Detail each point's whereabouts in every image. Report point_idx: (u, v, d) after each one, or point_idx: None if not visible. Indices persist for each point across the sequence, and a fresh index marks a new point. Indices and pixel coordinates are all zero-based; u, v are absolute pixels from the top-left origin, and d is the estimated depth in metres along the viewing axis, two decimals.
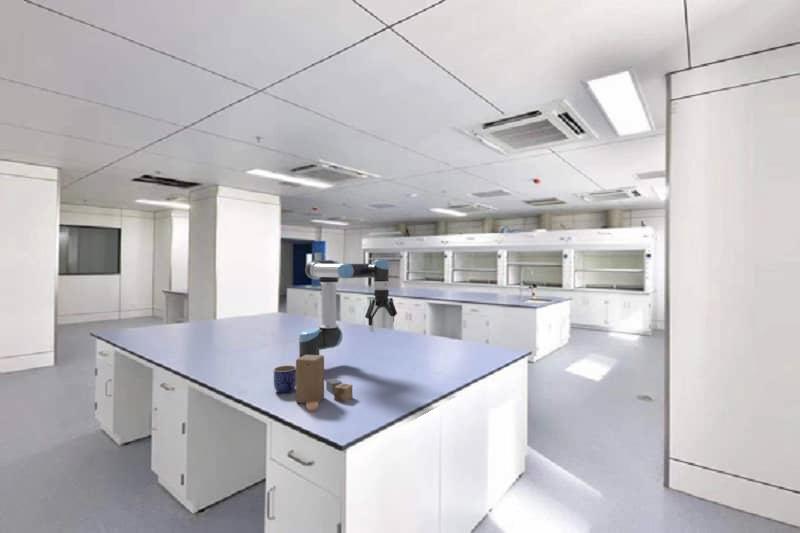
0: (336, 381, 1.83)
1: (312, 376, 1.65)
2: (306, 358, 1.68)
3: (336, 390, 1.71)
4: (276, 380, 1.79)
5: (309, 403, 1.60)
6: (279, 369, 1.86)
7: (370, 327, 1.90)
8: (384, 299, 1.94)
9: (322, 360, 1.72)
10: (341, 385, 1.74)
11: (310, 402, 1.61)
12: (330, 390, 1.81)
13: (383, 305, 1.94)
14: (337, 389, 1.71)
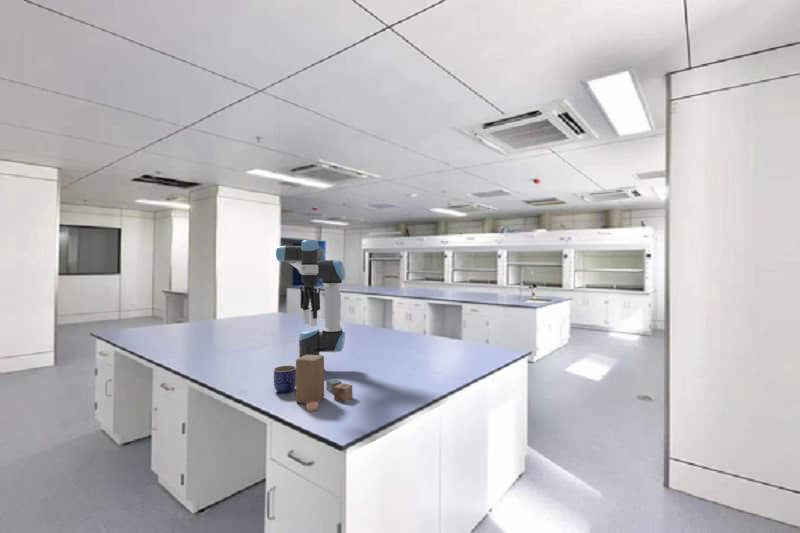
0: (336, 381, 1.83)
1: (312, 376, 1.65)
2: (306, 358, 1.68)
3: (336, 390, 1.71)
4: (276, 380, 1.79)
5: (309, 403, 1.60)
6: (279, 369, 1.86)
7: None
8: (309, 284, 1.68)
9: (322, 360, 1.72)
10: (341, 385, 1.74)
11: (310, 402, 1.61)
12: (330, 390, 1.81)
13: None
14: (337, 389, 1.71)
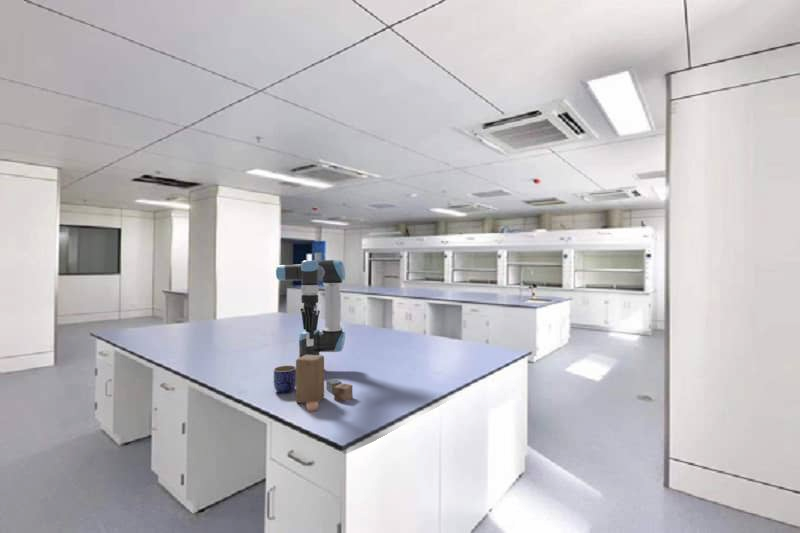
0: (336, 381, 1.83)
1: (312, 376, 1.65)
2: (306, 358, 1.68)
3: (336, 390, 1.71)
4: (276, 380, 1.79)
5: (309, 403, 1.60)
6: (279, 369, 1.86)
7: None
8: (309, 303, 1.68)
9: (322, 360, 1.72)
10: (341, 385, 1.74)
11: (310, 402, 1.61)
12: (330, 390, 1.81)
13: None
14: (337, 389, 1.71)
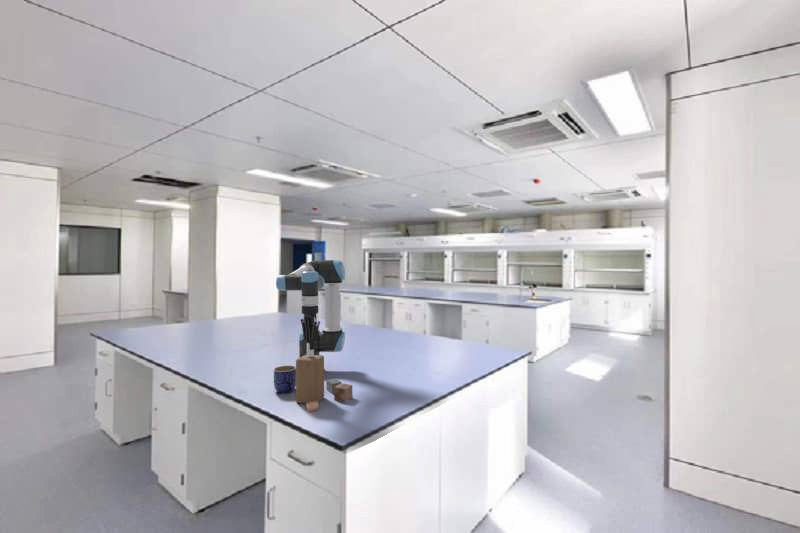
0: (336, 381, 1.83)
1: (312, 376, 1.65)
2: (306, 358, 1.68)
3: (336, 390, 1.71)
4: (276, 380, 1.79)
5: (309, 403, 1.60)
6: (279, 369, 1.86)
7: None
8: (310, 314, 1.68)
9: (322, 360, 1.72)
10: (341, 385, 1.74)
11: (310, 402, 1.61)
12: (330, 390, 1.81)
13: None
14: (337, 389, 1.71)
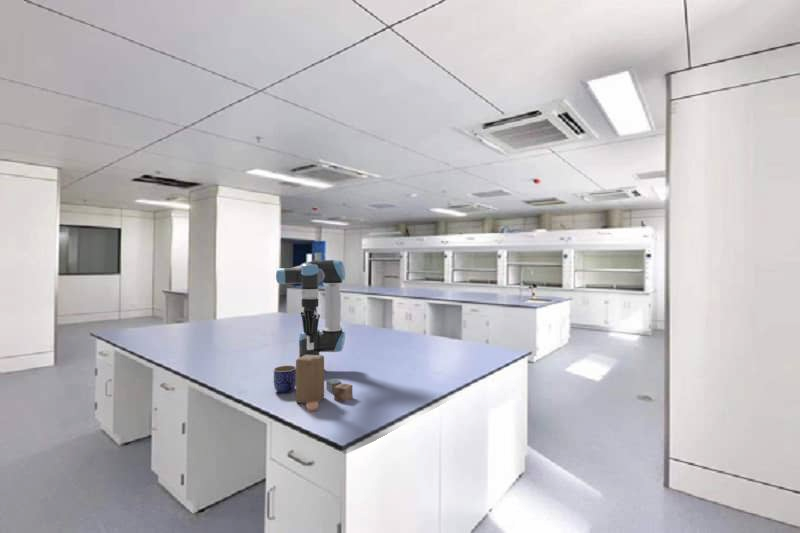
0: (336, 381, 1.83)
1: (312, 376, 1.65)
2: (306, 358, 1.68)
3: (336, 390, 1.71)
4: (276, 380, 1.79)
5: (309, 403, 1.60)
6: (279, 369, 1.86)
7: None
8: (310, 307, 1.68)
9: (322, 360, 1.72)
10: (341, 385, 1.74)
11: (310, 402, 1.61)
12: (330, 390, 1.81)
13: None
14: (337, 389, 1.71)
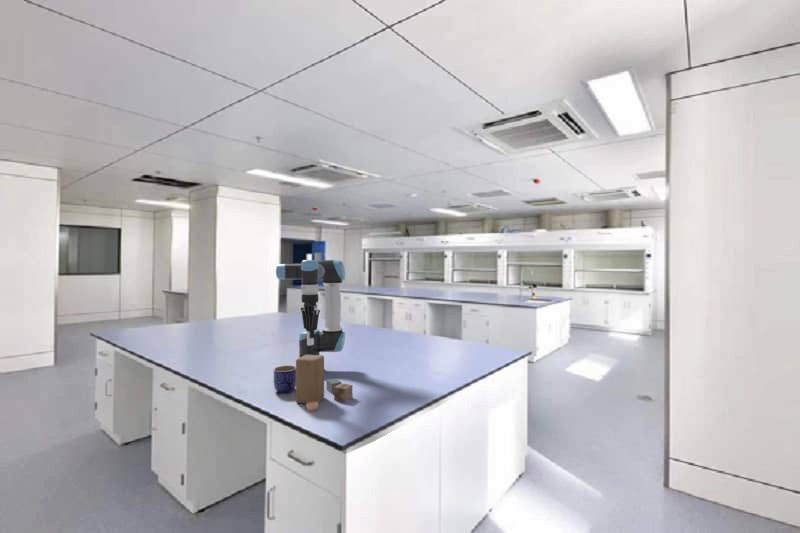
0: (336, 381, 1.83)
1: (312, 376, 1.65)
2: (306, 358, 1.68)
3: (336, 390, 1.71)
4: (276, 380, 1.79)
5: (309, 403, 1.60)
6: (279, 369, 1.86)
7: None
8: (310, 303, 1.68)
9: (322, 360, 1.72)
10: (341, 385, 1.74)
11: (310, 402, 1.61)
12: (330, 390, 1.81)
13: None
14: (337, 389, 1.71)
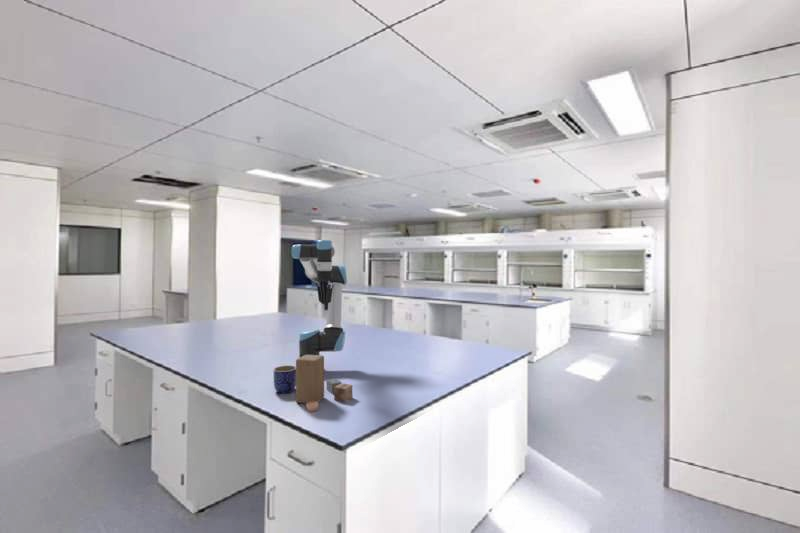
0: (336, 381, 1.83)
1: (312, 376, 1.65)
2: (306, 358, 1.68)
3: (336, 390, 1.71)
4: (276, 380, 1.79)
5: (309, 403, 1.60)
6: (279, 369, 1.86)
7: None
8: (324, 278, 1.88)
9: (322, 360, 1.72)
10: (341, 385, 1.74)
11: (310, 402, 1.61)
12: (330, 390, 1.81)
13: None
14: (337, 389, 1.71)
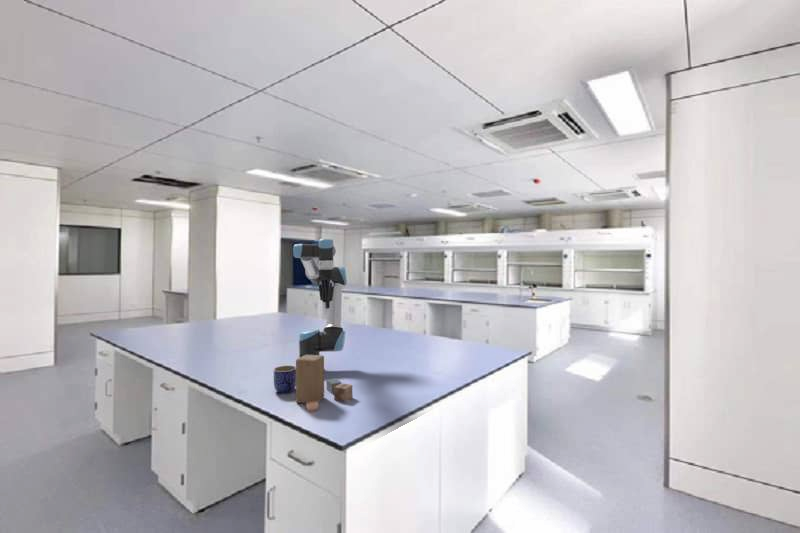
0: (336, 381, 1.83)
1: (312, 376, 1.65)
2: (306, 358, 1.68)
3: (336, 390, 1.71)
4: (276, 380, 1.79)
5: (309, 403, 1.60)
6: (279, 369, 1.86)
7: None
8: (326, 277, 1.91)
9: (322, 360, 1.72)
10: (341, 385, 1.74)
11: (310, 402, 1.61)
12: (330, 390, 1.81)
13: None
14: (337, 389, 1.71)
